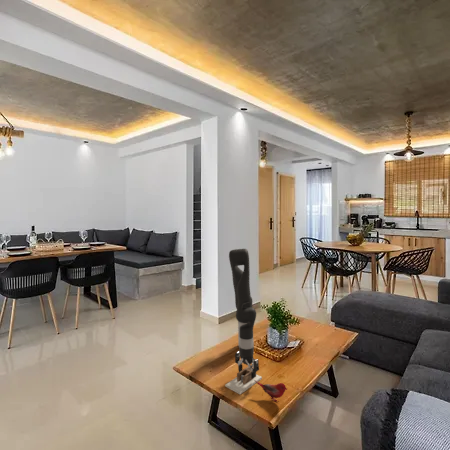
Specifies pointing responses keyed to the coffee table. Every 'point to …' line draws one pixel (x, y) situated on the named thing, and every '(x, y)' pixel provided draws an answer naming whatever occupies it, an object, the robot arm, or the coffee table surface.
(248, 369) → the slotted block
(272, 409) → the coffee table surface
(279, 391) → the decorative bird figurine
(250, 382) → the peg board
